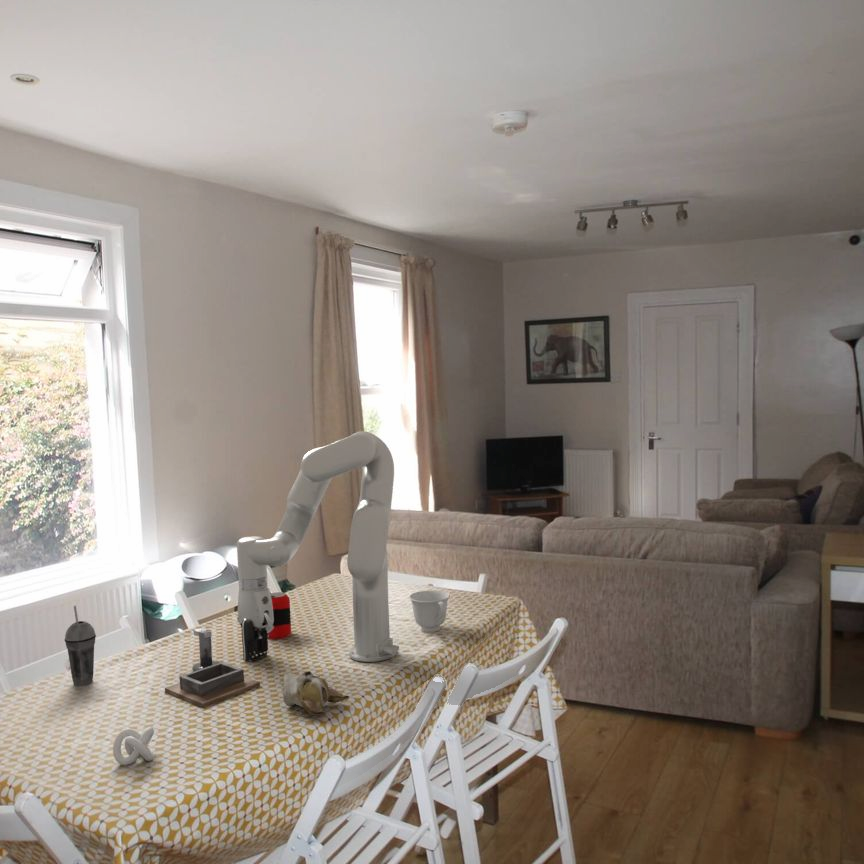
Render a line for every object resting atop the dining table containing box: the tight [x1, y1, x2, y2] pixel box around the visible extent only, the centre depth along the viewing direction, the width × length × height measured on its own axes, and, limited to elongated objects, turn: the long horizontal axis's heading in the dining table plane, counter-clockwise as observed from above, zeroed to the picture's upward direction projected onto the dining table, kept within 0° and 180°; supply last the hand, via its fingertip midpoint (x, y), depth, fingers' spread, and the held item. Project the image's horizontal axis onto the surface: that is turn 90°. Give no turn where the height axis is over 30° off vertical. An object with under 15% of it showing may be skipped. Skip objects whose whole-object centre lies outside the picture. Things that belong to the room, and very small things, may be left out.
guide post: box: [192, 627, 221, 672], centre depth 206 cm, size 7×7×10 cm
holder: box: [164, 661, 261, 708], centre depth 192 cm, size 16×16×4 cm
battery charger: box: [240, 618, 268, 662], centre depth 213 cm, size 7×4×11 cm, turn 146°
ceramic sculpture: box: [282, 671, 350, 716], centre depth 179 cm, size 11×9×15 cm
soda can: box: [268, 591, 292, 640], centre depth 232 cm, size 8×8×12 cm
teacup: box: [408, 590, 451, 633], centre depth 232 cm, size 12×15×10 cm
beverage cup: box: [64, 605, 97, 687], centre depth 199 cm, size 7×7×20 cm
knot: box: [112, 726, 155, 766], centre depth 157 cm, size 8×8×6 cm
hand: (256, 649), depth 213 cm, fingers open, 4 cm apart
